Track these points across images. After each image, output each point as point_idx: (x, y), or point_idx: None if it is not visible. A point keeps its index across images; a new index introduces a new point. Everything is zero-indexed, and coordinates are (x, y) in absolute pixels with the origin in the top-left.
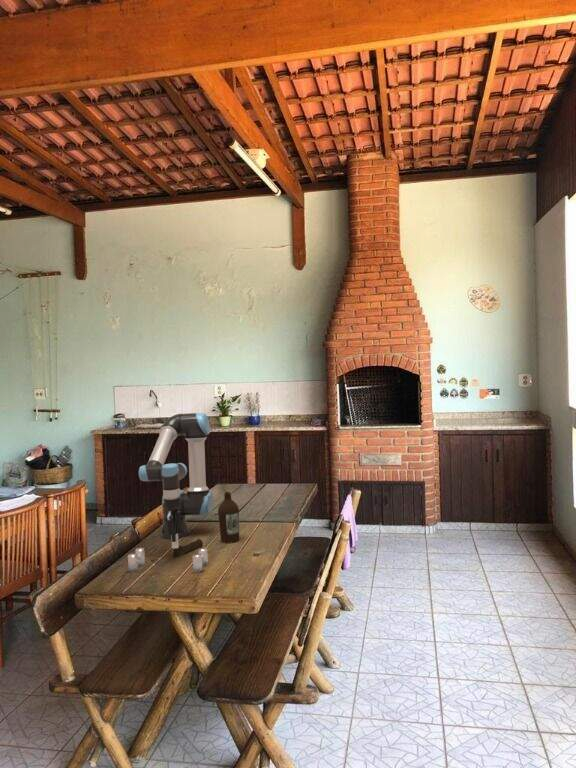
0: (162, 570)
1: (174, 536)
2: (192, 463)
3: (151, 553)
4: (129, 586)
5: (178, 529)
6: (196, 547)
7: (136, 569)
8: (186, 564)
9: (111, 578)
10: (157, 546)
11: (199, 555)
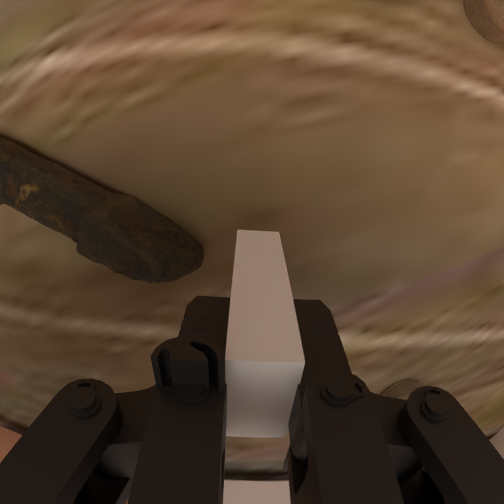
0: (455, 253)
1: (346, 365)
2: None
3: None
4: None
5: (115, 410)
6: (5, 140)
7: (417, 385)
8: (371, 97)
9: None
10: (39, 378)
11: None
